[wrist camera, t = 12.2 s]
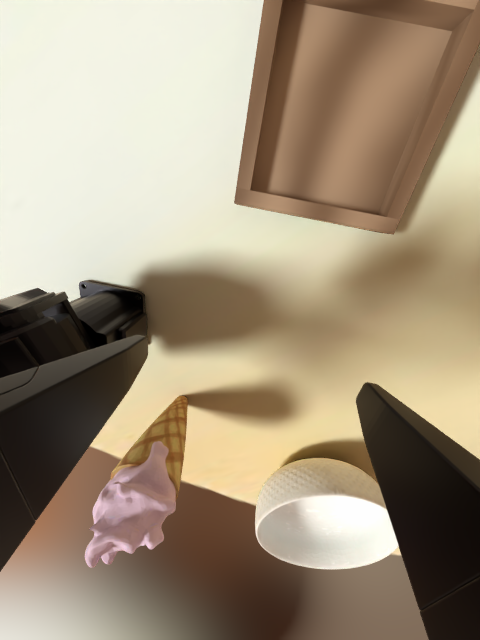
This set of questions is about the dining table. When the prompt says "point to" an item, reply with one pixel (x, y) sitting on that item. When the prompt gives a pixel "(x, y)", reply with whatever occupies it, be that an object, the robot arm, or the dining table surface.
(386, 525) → the cereal bowl
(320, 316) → the dining table surface
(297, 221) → the dining table surface
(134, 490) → the ice cream cone
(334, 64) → the walnut holder
